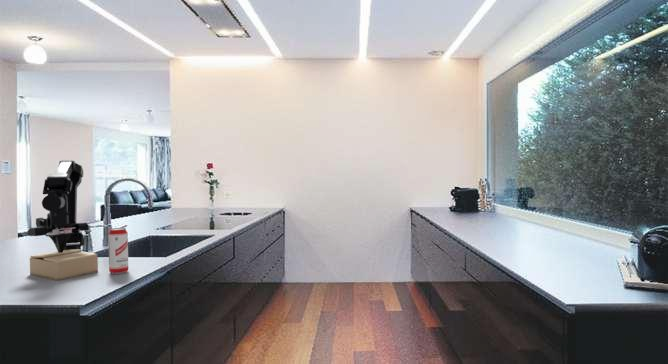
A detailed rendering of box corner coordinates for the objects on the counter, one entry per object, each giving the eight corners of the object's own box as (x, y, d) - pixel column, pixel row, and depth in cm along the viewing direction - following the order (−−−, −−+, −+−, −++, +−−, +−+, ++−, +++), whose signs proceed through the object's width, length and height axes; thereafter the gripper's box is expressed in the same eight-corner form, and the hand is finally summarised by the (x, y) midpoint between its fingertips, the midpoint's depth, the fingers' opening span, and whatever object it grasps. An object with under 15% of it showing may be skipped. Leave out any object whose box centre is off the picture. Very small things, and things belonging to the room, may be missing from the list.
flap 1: (69, 251, 168) (69, 249, 168) (82, 250, 163) (82, 249, 163) (30, 257, 156) (30, 255, 156) (43, 257, 151) (43, 255, 151)
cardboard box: (70, 266, 168) (69, 251, 168) (97, 271, 159) (97, 255, 159) (30, 274, 156) (29, 257, 156) (57, 280, 147) (57, 262, 147)
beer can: (132, 271, 159) (131, 228, 159) (117, 275, 153) (116, 230, 153) (120, 269, 162) (119, 227, 161) (105, 273, 156) (104, 229, 156)
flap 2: (82, 253, 163) (82, 251, 163) (96, 255, 159) (96, 253, 159) (43, 259, 151) (43, 258, 151) (57, 262, 147) (57, 260, 147)
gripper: (72, 208, 170) (73, 248, 170) (18, 212, 154) (20, 256, 154) (88, 208, 165) (90, 249, 165) (35, 212, 148) (37, 257, 148)
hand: (60, 252), depth 158 cm, fingers closed, pressing on flap 1
